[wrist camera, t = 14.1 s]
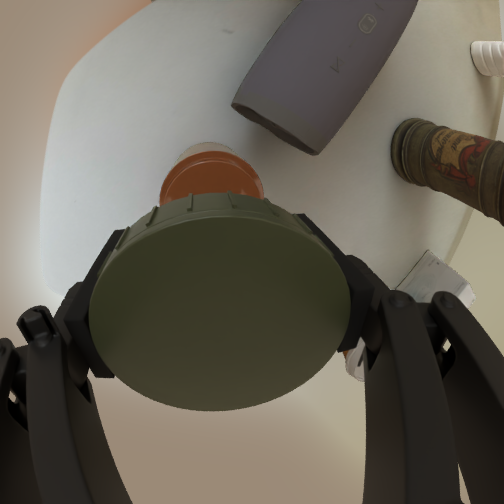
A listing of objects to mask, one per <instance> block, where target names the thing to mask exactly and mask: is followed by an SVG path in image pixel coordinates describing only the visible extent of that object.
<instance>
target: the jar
mask: <svg viewBox="0 0 504 504" xmlns="http://www.w3.org/2000/svg"><path fill="white" fill-rule="evenodd" d="M228 190H229V191H232V193H235V194H242V195H248V196H252V197H255V198H259V199H262V200H263V199H264V192H263V187H262V184H261V181H260V179H259V177H258V175H257V174H256V172H255V171H254V169H253V168H252V167H251V166H250V165H249V164H248V163H247V162H246V161H245V160H243V159H242V158H241V157H240V156H239V155H238V154H237V153H235V152H234V151H233V150H232V149H230V148H229V147H227V146H225V145H223V144H219V143H214V142H205V143H200V144H196V145H194V146H192V147H190V148H188V149H187V150H185V151H184V152H183V153H182V154H181V155H180V156H179V158H178V159H177V160H176V162H175V164H174V165H173V167H172V168H171V170H170V172H169V173H168V175H167V177H166V179H165V180H164V182H163V185H162V188H161V192H160V200H159V203H160V206H162V205H164V204H166V203H169V202H171V201H173V200H177V199H180V198H184V197H187V196H188V195H189V193H193V195H198V194H205V193H227V191H228Z"/></svg>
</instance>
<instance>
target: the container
mask: <svg viewBox="0 0 504 504" xmlns="http://www.w3.org/2000/svg"><path fill="white" fill-rule="evenodd" d="M391 157H392V162H393V165H394V167H395V170H396V171H397V173H398V174H399V175H400V176H401V177H402V178H403V179H404V180H405V181H407V182H409V183H412V184H416V185H418V186H427V187H430V188H431V189H432V190H434V191H438V192H443V193H445V194H447V195H449V196H451V197H453V198H455V199H457V200H459V201H461V202H463V203H465V204H467V205H469V206H471V207H473V208H475V209H477V210H478V211H480V212H482V213H483V214H484V215H485V216H487V217H491V218H494V219H496V220H497V221H499V222H500V223H501V225H502V226H504V143H503V142H501V141H495V140H490V139H487V138H484V137H481V136H477V135H473V134H469V133H465V132H461V131H457V130H452V129H450V128H448V127H445V126H437V125H435V124H434V123H432V122H430V121H425V120H423V119H419V118H412V119H408V120H406V121H404V122H403V123H402V124H400V125H399V127H398V128H397V130H396V131H395V133H394V136H393V139H392V144H391Z"/></svg>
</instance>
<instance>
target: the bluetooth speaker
mask: <svg viewBox="0 0 504 504" xmlns="http://www.w3.org/2000/svg"><path fill="white" fill-rule="evenodd" d="M417 2H418V0H302V1H301V3H300V4H299V5H298V6H297V7H296V8H295V9H294V10H293V12H292V13H291V14H290V15H289V16H288V18H287V19H286V20H285V21H284V23H283V24H282V25H281V26H280V28H279V29H278V30H277V31H276V33H275V34H274V35H273V37H272V38H271V39H270V41H269V42H268V44H267V45H266V47H265V48H264V49H263V51H262V52H261V54H260V55H259V57H258V58H257V60H256V61H255V63H254V64H253V66H252V67H251V69H250V70H249V72H248V74H247V75H246V77H245V79H244V80H243V82H242V84H241V85H240V87H239V89H238V92H237V93H236V95H235V97H234V99H233V102H232V104H231V106H232V107H233V108H234V109H235V110H236V111H237V112H238V113H240V114H241V115H243V116H244V117H246V118H247V119H249V120H251V121H253V122H256V123H258V124H260V125H261V126H263V127H265V128H266V129H268V130H269V131H271V132H272V133H273V134H274V135H276V136H277V137H278V138H280V139H281V140H283V141H285V142H286V143H288V144H290V145H292V146H294V147H295V148H297V149H299V150H301V151H303V152H305V153H307V154H309V155H312V156H315V155H318V154H319V153H320V152H321V151H322V150H323V149H324V148H325V146H326V145H327V144H328V143H329V142H330V141H331V139H332V138H333V137H334V136H335V134H336V133H337V132H338V131H339V129H340V128H341V126H342V125H343V124H344V122H345V121H346V119H347V118H348V117H349V115H350V114H351V112H352V111H353V109H354V108H355V107H356V105H357V104H358V102H359V101H360V100H361V98H362V97H363V95H364V94H365V92H366V91H367V90H368V88H369V87H370V85H371V84H372V82H373V81H374V79H375V78H376V76H377V75H378V73H379V71H380V70H381V68H382V67H383V65H384V64H385V62H386V61H387V59H388V57H389V56H390V54H391V52H392V51H393V49H394V47H395V46H396V44H397V42H398V41H399V39H400V37H401V35H402V33H403V32H404V30H405V28H406V26H407V24H408V22H409V20H410V18H411V16H412V14H413V12H414V10H415V8H416V5H417Z"/></svg>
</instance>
